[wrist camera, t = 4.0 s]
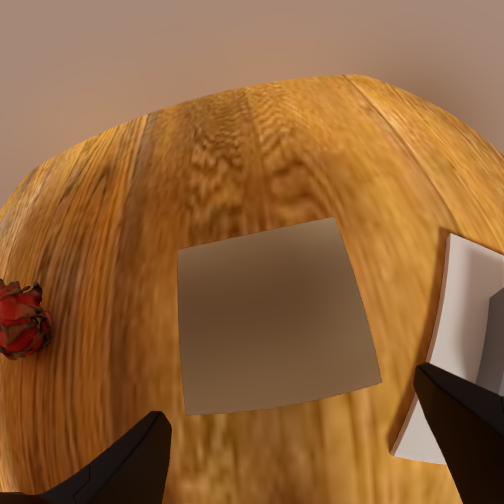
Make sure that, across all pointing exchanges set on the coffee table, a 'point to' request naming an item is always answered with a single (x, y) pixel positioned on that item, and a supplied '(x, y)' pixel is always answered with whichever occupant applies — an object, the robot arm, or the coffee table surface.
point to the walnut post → (271, 321)
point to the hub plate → (461, 336)
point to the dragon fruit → (22, 320)
